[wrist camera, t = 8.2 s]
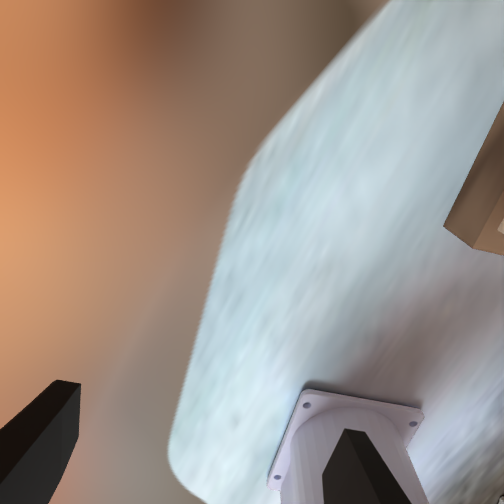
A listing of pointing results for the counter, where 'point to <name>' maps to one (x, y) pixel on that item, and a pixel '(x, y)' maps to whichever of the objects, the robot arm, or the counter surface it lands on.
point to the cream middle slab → (501, 227)
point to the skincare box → (501, 500)
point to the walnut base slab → (482, 196)
